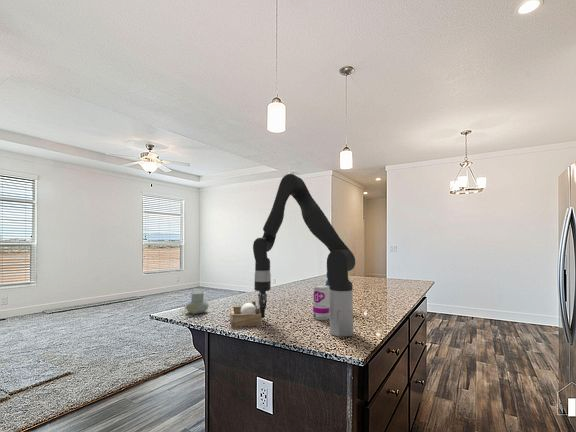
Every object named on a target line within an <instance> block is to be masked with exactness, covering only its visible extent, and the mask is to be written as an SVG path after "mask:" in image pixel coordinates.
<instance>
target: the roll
mask: <svg viewBox="0 0 576 432" xmlns="http://www.w3.org/2000/svg"><path fill="white" fill-rule="evenodd" d="M241 306H242V307H241V314H251V313H255V309H256V308H255V306H254V305H253V304H252V302H245V303H244V304H242V305H241Z"/></svg>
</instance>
